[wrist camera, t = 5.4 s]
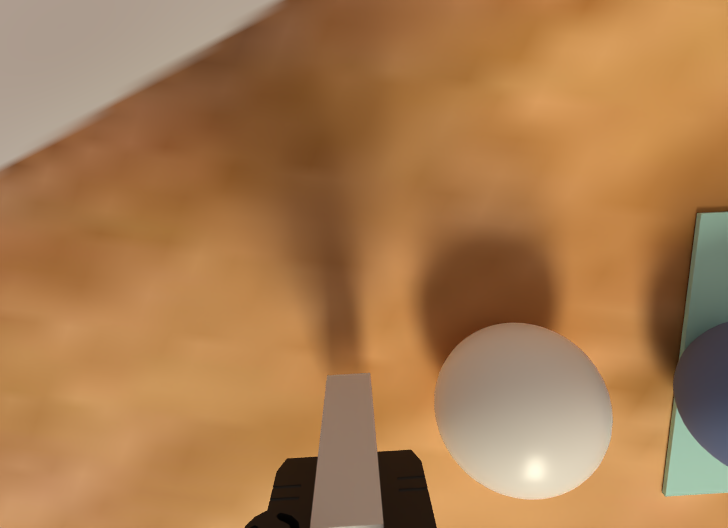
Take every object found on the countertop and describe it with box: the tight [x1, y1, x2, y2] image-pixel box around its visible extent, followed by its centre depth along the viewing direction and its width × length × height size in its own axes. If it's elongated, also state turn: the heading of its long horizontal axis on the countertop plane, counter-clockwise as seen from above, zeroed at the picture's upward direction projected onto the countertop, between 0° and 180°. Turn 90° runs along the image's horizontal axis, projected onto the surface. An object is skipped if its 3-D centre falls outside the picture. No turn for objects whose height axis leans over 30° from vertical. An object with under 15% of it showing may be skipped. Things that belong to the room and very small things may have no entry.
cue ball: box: [434, 323, 613, 499], centre depth 15 cm, size 6×6×6 cm
